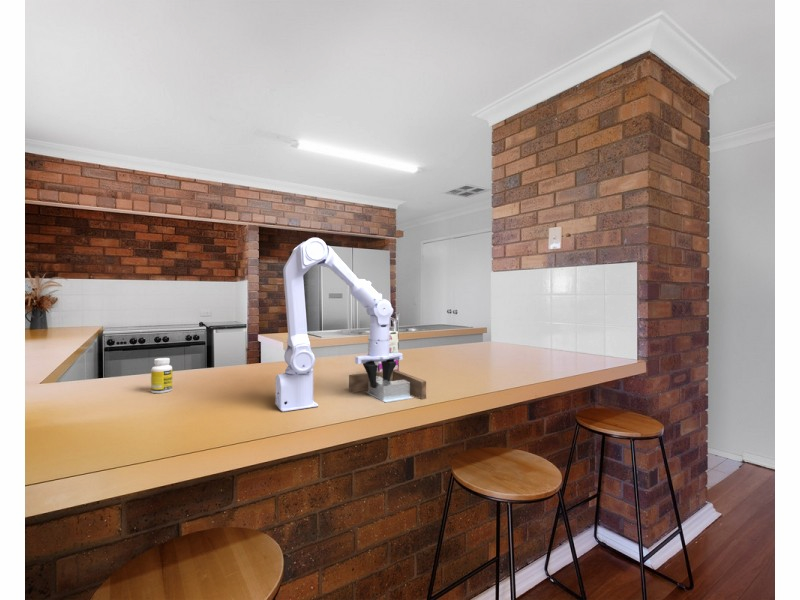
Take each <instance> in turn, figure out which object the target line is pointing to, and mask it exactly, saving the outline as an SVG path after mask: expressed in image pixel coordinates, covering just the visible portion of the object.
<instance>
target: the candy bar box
mask: <svg viewBox="0 0 800 600" xmlns="http://www.w3.org/2000/svg"><path fill="white" fill-rule="evenodd" d="M367 347H368V348H367V351H368V352H367V355H368V354H370V333H367ZM399 348H400V345H399V331H394V330H393V331H391V330H389V353H400V352H399ZM378 360H380V359H378ZM394 361H395V362H396V366H395V368H394V370H397V371H399V370H400V364H399V363H400V360H394ZM374 363H375V365H377V366H378V368H377V372H379V371H383V370H382V363H381V362H374Z"/></svg>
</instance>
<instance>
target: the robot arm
mask: <svg viewBox="0 0 800 600" xmlns="http://www.w3.org/2000/svg"><path fill="white" fill-rule="evenodd" d="M315 265H316V266H320V267H323V268H328V269H329V270H331V271H332V272H333V273H334V274H335V275H336V276H337V277H339V279H341V280H342V281H343V282H344V283H345V284H346V285H347V286H349V290H350V295H351V296H353V298H354V299H355V300H356V301H358V302H359V304H360V305H361V306H363V307H364V308H365V309H366V314H367V315H369V334H370V354H368V353H367V354H364V355H358V356H357V355H356V356H355V357H354V359H355V361H354V362H355V364H356V365H361V364H362V366H363V368H364V370H365V373H367V374H368V377H369V381H370V386H371V387H372V388H376V373H377V368H378V366H377V365H375V363H374V362H381V363H382V370H383V379H385V380H387V381H389V380H390V377H391V374H392V372H393V370H394V368H395V366H396V362H395V361H394V360H399V361H403V355H404V354H403V353H402V352H399V353H389V331H390V318H391V316H393V313H394V308H393V306H392V304H391V302H390V301H389V300H388V299H385V298H383V294H382V293H381V292H378V291H377V290H376V289H375V288H374V287H373V286H372V284H373V282H371V281H370V280H366V279H365V278H359V277H357V276H356V274H354V272H353V271H352V270H351V269H350V268H349V266H348V265H347V264H346V263H345V262H344V261H343V260H342V258H340V257H339V256H338V254H337V253H336V252H335V251H334V249H333V248H332V247H330V245H327V244H326V242H325V241H324V240H323V239H321V238H319V237H311V238H308V239H307V240H306V241H302V243H300V244H298V245H297V246H296V247H295V248H294V249H293V250H292V253H291V255H290V256H289V257H288V259H287V262H286V263H285V264H284V266H283V270H282V272H283V284H284V285H283V286H284V287H283V288H284V296H285V297H284V298H285V309H286V311H285V312H286V324H287V336H288V337H287V339H286V350H285V352H284V356H283V357H284V361H285V363H286V364H287V366H286V368H285V371H284V372H283V373H278V374H276V376H275V402H274V405H276V407H277V408H278V409H279V410H280V411H281V412H289V411H295V410H304V409H310V408H315V407H319V404H318V403H317V402H316V401H314V367H315V363H316V356H315V354H314V353H313V351H312V348H311V342H310V339H309V334H308V323H307V311H306V297H305V286H304V285H305V282H304V275H305V274H306V273H307V272H308V271H309V270H310V269H311V268H312V267H314V266H315ZM378 359H380V360H378Z"/></svg>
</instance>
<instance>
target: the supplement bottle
mask: <svg viewBox="0 0 800 600" xmlns="http://www.w3.org/2000/svg"><path fill="white" fill-rule="evenodd" d="M153 360H154V361H153V364H154V366H152V368H151V370H150V375H151V376H150V379H151V380H150V381H151V382H150V384H151V385H150V386H151V387H150V390H151V391H150V392H151V393H153V394H164V393H165V394H166V393H169V392H172V390H173V366H172V365H171V364H170V362H171V358H170V357H158V358H154V359H153Z"/></svg>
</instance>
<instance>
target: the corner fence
mask: <svg viewBox="0 0 800 600" xmlns="http://www.w3.org/2000/svg"><path fill="white" fill-rule="evenodd" d="M376 376H380V377H382V378H383V371H379V372H377V373H376ZM397 380H406V381H408V382H410V396H414V397H416V398H418V399H420V400H425V399H427V381H426V380H425V379H421V378H418V377H416V376H413V375H411V374H408V373H405V372H403V371H397V370H393V372H392V374H391V377H390V380H389V381H397ZM348 391H349V392H350V393H357V392H358V393H359V392H364V391H368V374H367V372H362V373H352V374H349V375H348Z"/></svg>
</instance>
